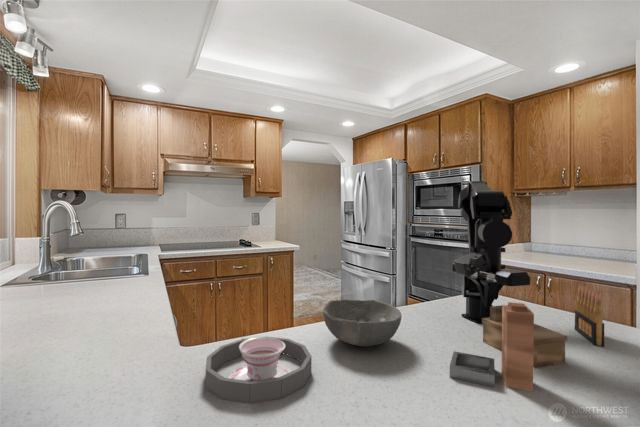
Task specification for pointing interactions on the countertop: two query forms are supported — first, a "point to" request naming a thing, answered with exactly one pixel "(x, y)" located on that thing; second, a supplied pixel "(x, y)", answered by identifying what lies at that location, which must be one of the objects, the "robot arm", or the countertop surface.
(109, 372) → the countertop surface
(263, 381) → the coaster ring
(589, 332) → the ammunition clip
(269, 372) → the teacup
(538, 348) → the light brown wooden box
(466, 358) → the frame
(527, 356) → the reddish brown rectangular block
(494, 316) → the lid
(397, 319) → the bowl
